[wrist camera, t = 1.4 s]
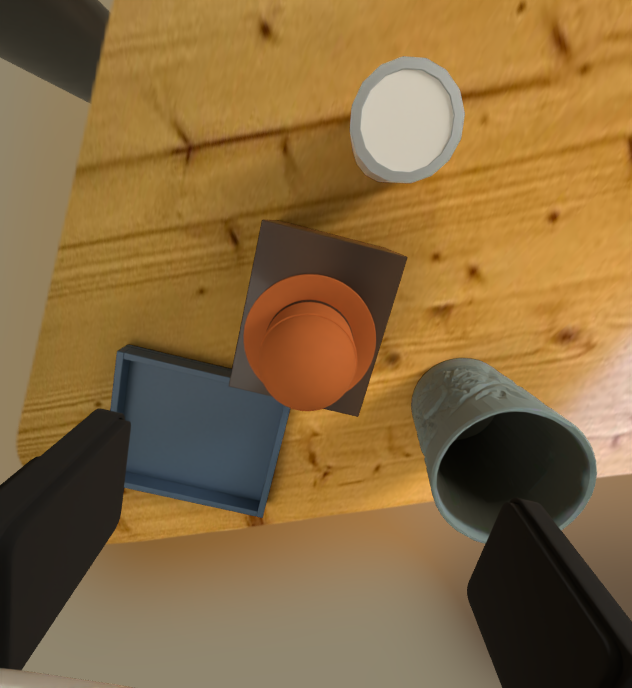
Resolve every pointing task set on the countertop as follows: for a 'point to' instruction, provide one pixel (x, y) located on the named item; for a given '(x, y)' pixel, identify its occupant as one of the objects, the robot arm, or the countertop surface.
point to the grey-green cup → (496, 448)
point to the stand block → (328, 260)
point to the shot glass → (406, 120)
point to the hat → (309, 340)
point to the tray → (196, 431)
